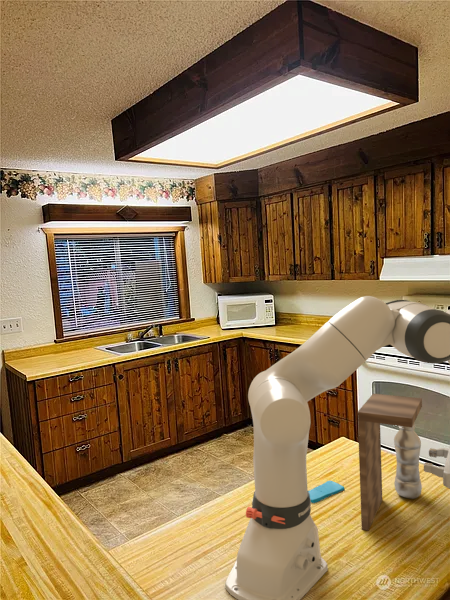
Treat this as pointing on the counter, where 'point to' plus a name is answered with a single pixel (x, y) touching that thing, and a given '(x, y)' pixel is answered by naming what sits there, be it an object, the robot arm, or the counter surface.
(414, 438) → the plastic bottle
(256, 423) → the robot arm
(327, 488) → the sponge
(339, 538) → the counter surface
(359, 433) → the counter shelf
